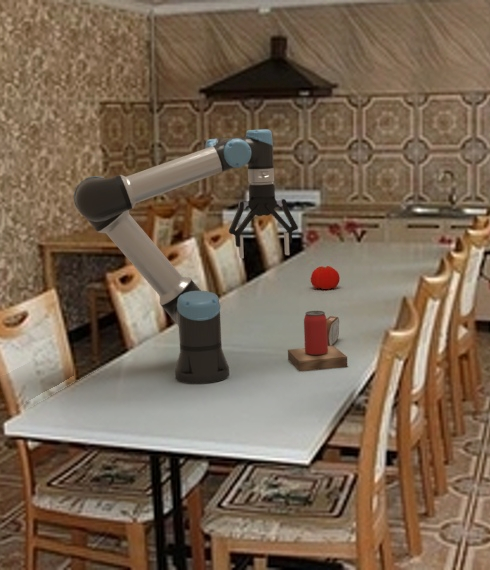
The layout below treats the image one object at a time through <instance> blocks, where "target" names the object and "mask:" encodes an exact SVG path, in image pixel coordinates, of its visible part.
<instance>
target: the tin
mask: <svg viewBox="0 0 490 570" xmlns="http://www.w3.org/2000/svg"><path fill="white" fill-rule="evenodd" d="M326 319H327V340H328V346H334V344H336V343H337V342H338V340H339V333H340V319H339V317H338V316H333V315H329V316H327V317H326Z"/></svg>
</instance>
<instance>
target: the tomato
mask: <svg viewBox="0 0 490 570" xmlns="http://www.w3.org/2000/svg"><path fill="white" fill-rule="evenodd" d="M340 279H341V278H340V274H339V271H338V270H337V269H335V268H333V267H332V266H326V267H325V266H317V267H316V268H315V269H314V270H313V271H312V273H311V277H310V283H311V285H312V286H313V287H314V289H317V288H318V290H323V289H328V290H332V289H331V288H333V289H334V288H336V287H337V286H338V285H339V284H340ZM320 288H321V289H320Z"/></svg>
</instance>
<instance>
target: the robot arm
mask: <svg viewBox="0 0 490 570" xmlns="http://www.w3.org/2000/svg"><path fill="white" fill-rule="evenodd" d="M273 141H274V140H273V133H272V131H271V130H270V129H267V128H265V129H249V130H247V131H246V135H245V136H244V137H225V138H219V137H217V138H210V139H207V140H206V142H205V144H204V145H205V147H204V148H203V149H200V150H198V151H195V152H192V153H189V154H187V155H184V156H181V157H178V158H175V159H172V160H169V161H166V162H164V163H161V164H159V165H155V166H152V167H149V168H147V169H145V170H142V171H139V172H136V173H133V174H129V175H126V176H124V175H123V174H119V175H115V176H112V177H107V178H104V177H101V176H96V175H94V176H91V177H90V176H89V177H87V178H85V179H83V180H82V181H81V182H79V184H78V185H77V186H76V187H75V190H74V193H73V203H74V206H75V207H76V209H77V210H78V212H79V214H80V215H81V216H83V217H84V218H85V219H86V220H87V222H88V223H89V224H90V225H91V226H92V227H93V229H94V230H95V231H96V232H97V233H99V234H100V233H101V234H106V235H107V236H108V238H110V240H111V241H112V242H113V243H114V245H115V246H116V247H117V248H118V249H119V250H120V251H121V253H122V254H123V255H124V256H125V258H126V259H127V260H128V261H129V262H130V263H131V264H132V265H133V266H134V268H135V269H136V270H137V271H138V273H140V275H141V276H142V277H143V279H144V280H145V281H147V283H148V284H149V286H151V288H152V289H153V290H154V292H155V293H157V294H158V296H159V302H158V303H159V305H160V306H161V307H162V308H163V310H164V311H165V312H166V313H167V314H168V315H169V317H170V318H171V319H172V321H173V322H174V323H175V324H176V325H177V326H178V335H179V337H178V338H179V355H178V357H177V358H178V359H177V362H176V366H175V370H174V373H175V380H177V381H178V382H180V383H187V384H209V383H211V384H212V383H215V382H220V381H223V380H225V379H226V380H227V378H229V376H230V367H229V364H228V361H227V359H226V355H225V354H224V353H225V352H224V350H223V347H222V327H221V326H222V325H221V303H220V299H219V296H218V295H217V294H216V293H215V292H212V291H208V290H201V289H200V287H199V286H198V285H197V284H196V283H195V282H194V280H192V278H190V277H186V276H183V275H182V274H181V273H180V272H179V271H178V270H177V269H176V267H175V266H174V265H173V264H172V263H171V262H170V260H169V259H168V258H167V256H165V254H164V253H163V252H162V250H161V249H160V248H159V247H158V246H157V244H155V243H154V241H152V239H151V238H150V237H149V236H148V234H147V232H145V231H144V229H143V228H142V227H141V226H140V225H139V224H138V223H137V221H136V220H135V219H134V218H133V217H132V215H131V214H130V210H132V209H134V208H135V206H136V204H138V203H141V202H143V201H145V200H149V199H152V198H154V197H157V196H161V195H163V194H166V193H168V192H171V191H173V190H176V189H179V188H181V187H185V186H187V185H190V184H193V183H195V182H198V181H201V180H203V179H206V178H209V177H212V176H215V175H217V174H220V173H222V172H223V173H224V172H226V171H229V170H232V169H235V168H241V167H245V166H246V165H247V179H248V183H249V185H248V201H241V200H239V201H238V204H237V205H238V206H237V207H238V208H237V209H236V210H237V211H236V212H235V215H234V218H233V220H232V222H231V225H230V227H229V229H228V233H229V234H230V235H233V236H234V238H235V239H234V241H235V243H234V244H235V247H237V248H238V251H239V252H238V253H239V258H240V259H244V258H245V256H244V255H245V254H244V236H243V235H242V233H243V232H244V230H245V229H246V227H247V226H248V225H249V224H250V222H252V220H253V219H254V217H255V216H257V217H263V216H270V215H271V216H273V218H274V219H275V220H276V221H277V222H278V224H280V225H281V226H282V228H284V230H285V231H284V232H283V238H284V242H283V243H284V244H283V245H284V255H285V256H290V244H292V243H293V233H294V232H295V231H296V230H298V229H299V227H298V224H297V223H296V221H295V219H294V217H293V215H292V214H291V212H290V210H289V208H288V205H287V200H286V199H285V198H280V199H277V200H276V188H275V187H276V186H275V184H274V183H273V182H275V170H274V169H275V166H274V142H273ZM277 206H279V207H280V208H281V209H282V212H283V213H284V215H285V217H286V219H287V220H288V223H289V224H290V225H289V224H288V223H287V222H286V221H285V220H284V219H283V218H282V217H281V216H280V214H279V213H278V212H277V211H276V210H275V208H276V207H277ZM247 207H248V208H249V209H250V210H249V212H248V214H247V215H246V217H244V219H243V221H242V222H241V223H240V225H239V222H240V219H241V217H242V216H243V212H244V210H246V209H247ZM238 225H239V226H238ZM237 226H238V227H237Z"/></svg>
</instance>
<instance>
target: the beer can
mask: <svg viewBox="0 0 490 570" xmlns="http://www.w3.org/2000/svg"><path fill="white" fill-rule="evenodd" d="M325 314H326V312H325V311H323V310H310V311H309V310H308V311H306V312H305V315H304V319H303V334H304V348H305V352H306V354H308V355H315V356H317V355H324V354H326V353H327V352H328V340H327V317H326V315H325Z"/></svg>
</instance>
